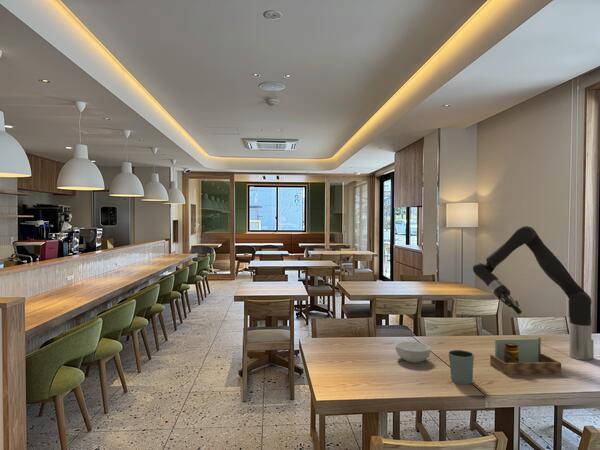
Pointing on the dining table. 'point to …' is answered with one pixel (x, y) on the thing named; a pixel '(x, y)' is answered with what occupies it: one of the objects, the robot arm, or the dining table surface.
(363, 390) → the dining table surface
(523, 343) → the cover door
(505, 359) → the condiment
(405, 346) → the cereal bowl
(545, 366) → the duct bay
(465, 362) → the blue-grey cup
